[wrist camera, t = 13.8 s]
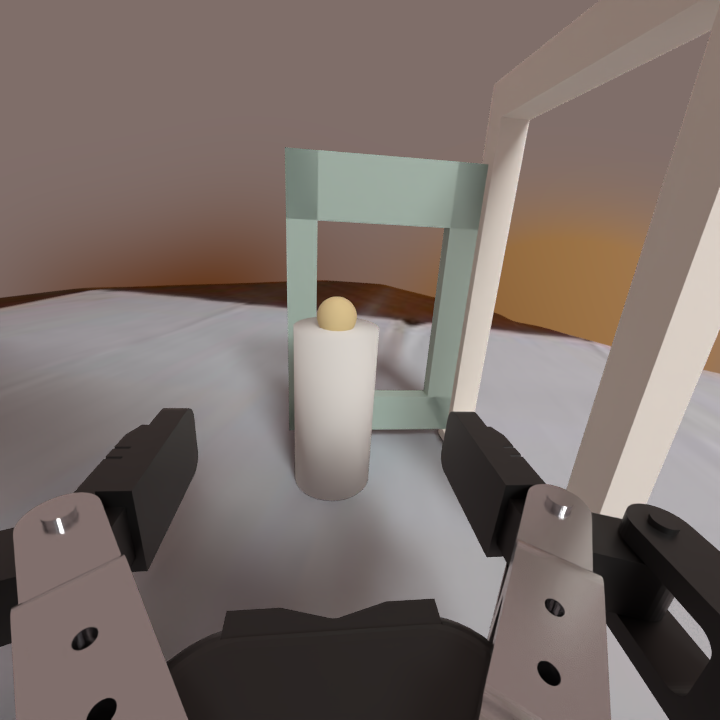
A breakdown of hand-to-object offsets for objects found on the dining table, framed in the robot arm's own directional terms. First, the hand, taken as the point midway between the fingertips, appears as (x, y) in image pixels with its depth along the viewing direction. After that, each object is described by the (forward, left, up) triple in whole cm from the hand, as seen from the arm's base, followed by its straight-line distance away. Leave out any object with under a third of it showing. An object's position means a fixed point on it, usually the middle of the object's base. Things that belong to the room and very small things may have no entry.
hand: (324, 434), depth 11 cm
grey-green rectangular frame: (+4, +17, -9) cm, 20 cm away
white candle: (+1, +11, -11) cm, 16 cm away
